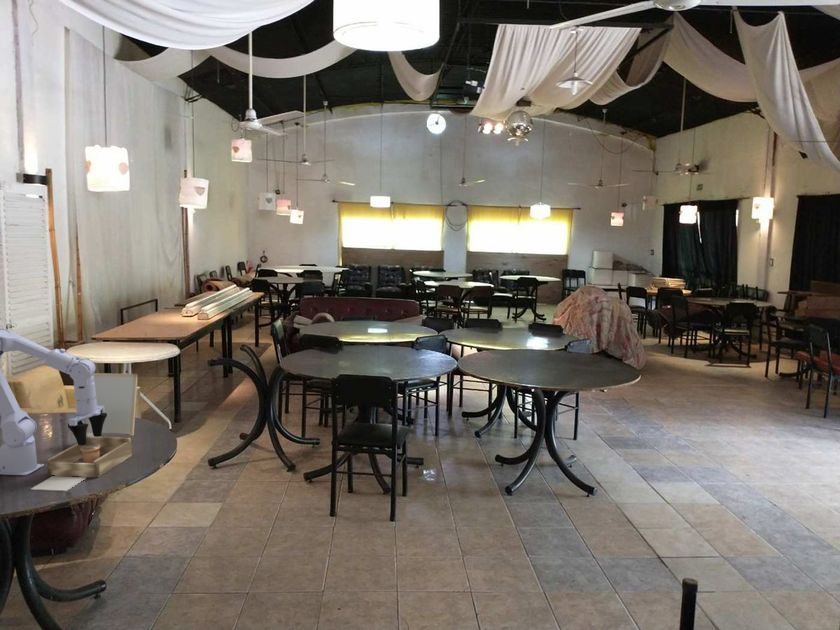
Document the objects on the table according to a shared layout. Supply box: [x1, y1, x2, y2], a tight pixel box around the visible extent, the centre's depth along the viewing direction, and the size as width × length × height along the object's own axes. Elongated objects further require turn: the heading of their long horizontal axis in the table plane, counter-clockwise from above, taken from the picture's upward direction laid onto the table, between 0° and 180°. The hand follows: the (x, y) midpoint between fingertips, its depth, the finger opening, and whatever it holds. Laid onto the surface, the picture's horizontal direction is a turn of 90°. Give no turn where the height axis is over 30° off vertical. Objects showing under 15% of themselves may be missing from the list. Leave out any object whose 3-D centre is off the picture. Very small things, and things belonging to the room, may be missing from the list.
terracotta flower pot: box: [80, 444, 101, 463], centre depth 199 cm, size 6×6×6 cm
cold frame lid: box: [86, 372, 139, 436], centre depth 209 cm, size 17×20×1 cm
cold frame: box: [46, 436, 133, 478], centre depth 199 cm, size 16×18×6 cm
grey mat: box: [30, 476, 87, 492], centre depth 185 cm, size 11×9×1 cm
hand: (89, 440), depth 198 cm, fingers open, 7 cm apart
